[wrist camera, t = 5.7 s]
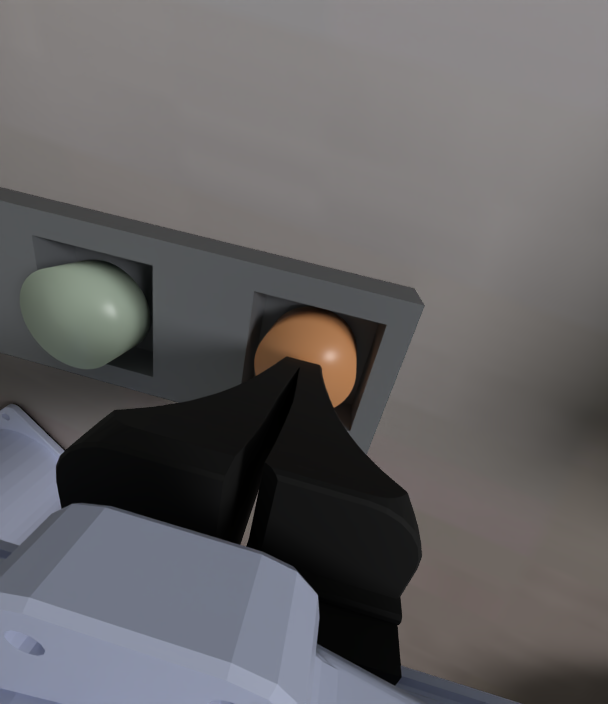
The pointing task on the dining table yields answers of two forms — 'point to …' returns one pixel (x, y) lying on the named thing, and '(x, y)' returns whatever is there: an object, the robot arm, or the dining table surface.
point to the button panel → (201, 305)
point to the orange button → (313, 347)
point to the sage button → (84, 312)
